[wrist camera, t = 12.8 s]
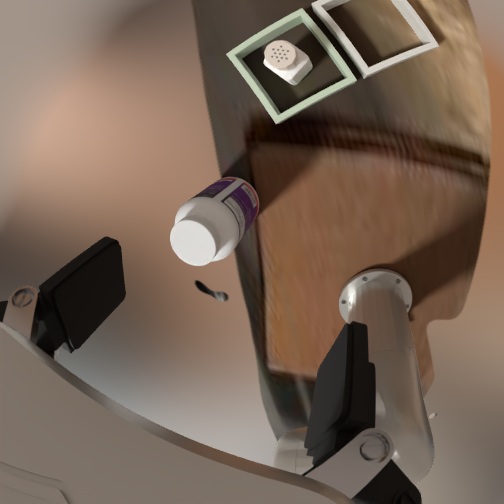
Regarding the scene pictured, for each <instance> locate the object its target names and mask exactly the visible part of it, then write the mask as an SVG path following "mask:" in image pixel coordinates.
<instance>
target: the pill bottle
mask: <svg viewBox="0 0 504 504" xmlns="http://www.w3.org/2000/svg"><path fill="white" fill-rule="evenodd" d="M258 211H259V199H258V196H257V193H256V191H255V190H254V188H253V187H252V186H251V185H250V184H249V183H248V182H246V181H245V180H243V179H240V178H237V177H225V178H222V179H220V180H218V181H217V182H215V183H213V184H212V185H210V186H209V187H207V188H206V189H205V190H203V191H202V192H200V193H199V194H197V195H196V196H194V197H193V198H191V199H190V200H188V201H187V202H186V203H185V204H183V205H182V206H181V208H180V209H179V211H178V213H177V215H176V218H175V225H174V227H173V229H172V231H171V235H170V241H171V245H172V248H173V250H174V251H175V253H176V254H177V255H178V257H179V258H180V259H182V260H183V261H185V262H186V263H188V264H191V265H194V266H202V265H206V264H208V263H209V262H211V261H218V260H221V259H223V258H225V257H227V256H228V255H229V254H230V253H231V252H232V251H233V250H234V249H235V247H236V246H237V244H238V243H239V241H240V240H241V238H242V237H243V235H244V234H245V233H246V231H247V230H248V228H249V227H250V225H251V224H252V223H253V221H254V220H255V218H256V216H257V214H258Z"/></svg>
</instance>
